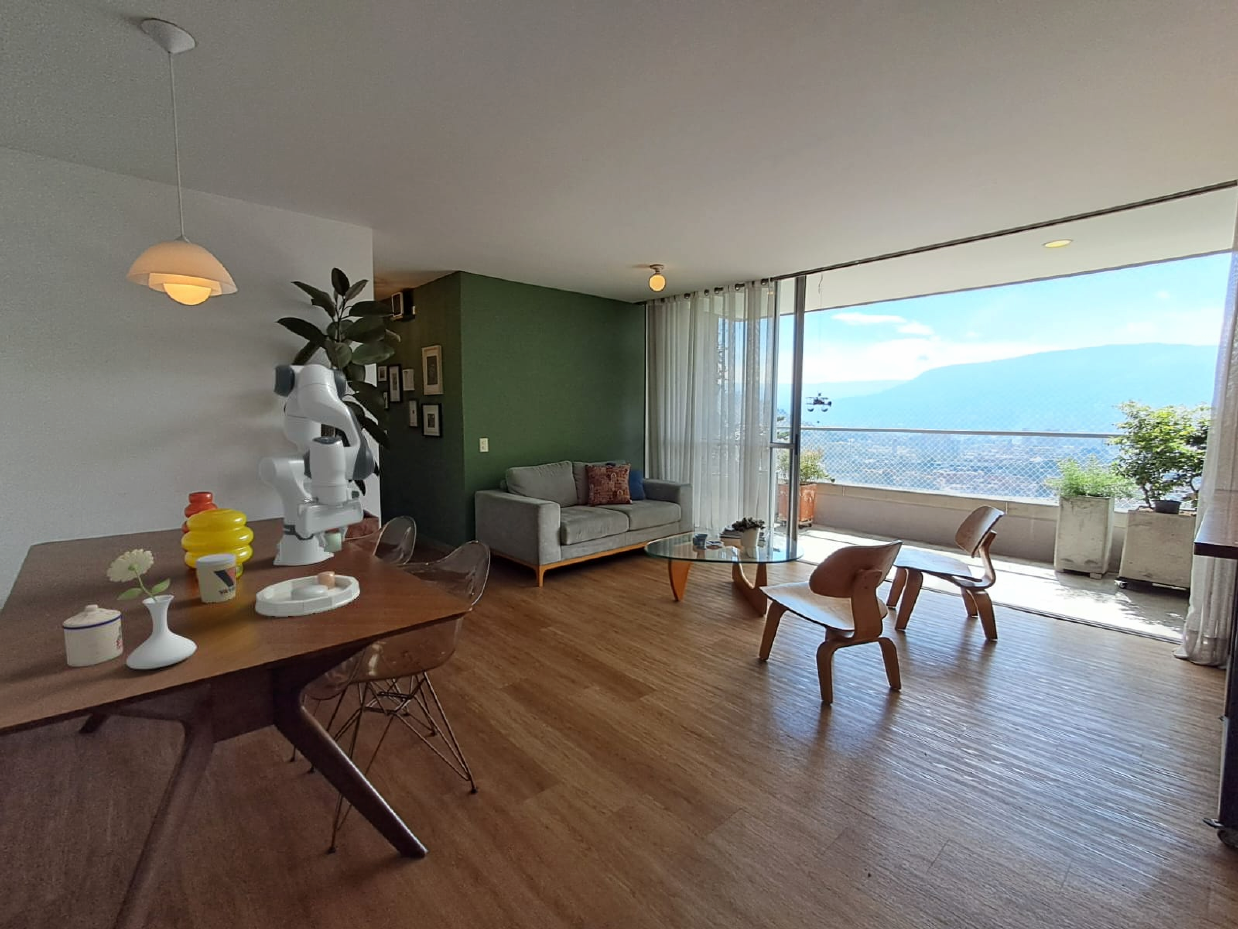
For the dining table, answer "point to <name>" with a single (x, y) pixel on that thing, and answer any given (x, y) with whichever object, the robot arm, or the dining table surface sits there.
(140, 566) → the flower in vase
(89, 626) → the teacup with lid
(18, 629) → the dining table surface
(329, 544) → the sage bead
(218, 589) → the coffee cup
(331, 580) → the terracotta bead
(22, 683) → the dining table surface
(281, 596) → the groove tray
